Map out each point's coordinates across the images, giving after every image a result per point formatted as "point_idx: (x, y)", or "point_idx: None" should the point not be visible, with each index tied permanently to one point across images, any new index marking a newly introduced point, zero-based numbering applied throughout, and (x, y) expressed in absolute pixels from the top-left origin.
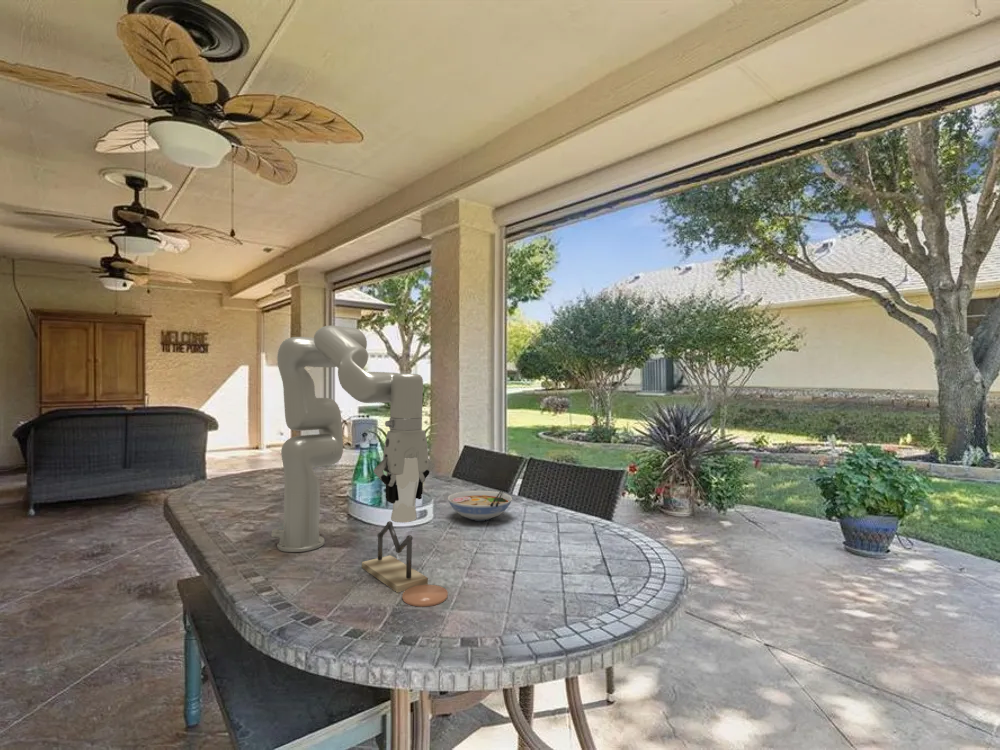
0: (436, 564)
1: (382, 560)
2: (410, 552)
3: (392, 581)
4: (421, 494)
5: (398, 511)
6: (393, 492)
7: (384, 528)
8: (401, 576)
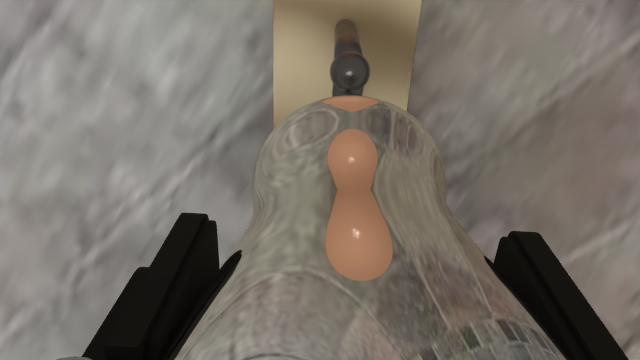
0: (148, 134)
1: None
2: (349, 39)
3: (408, 52)
4: (172, 235)
5: (441, 185)
6: (585, 309)
7: None
8: None
